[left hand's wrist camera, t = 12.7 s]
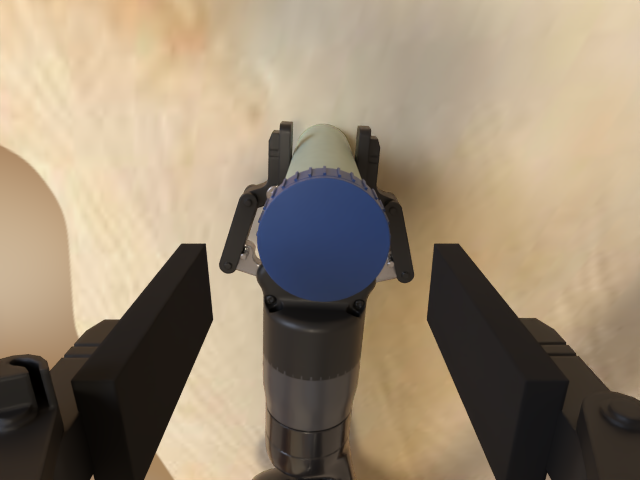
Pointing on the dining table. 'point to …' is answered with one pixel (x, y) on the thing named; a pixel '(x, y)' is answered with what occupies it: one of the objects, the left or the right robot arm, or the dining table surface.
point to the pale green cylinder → (322, 151)
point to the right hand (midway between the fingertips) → (324, 126)
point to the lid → (323, 235)
